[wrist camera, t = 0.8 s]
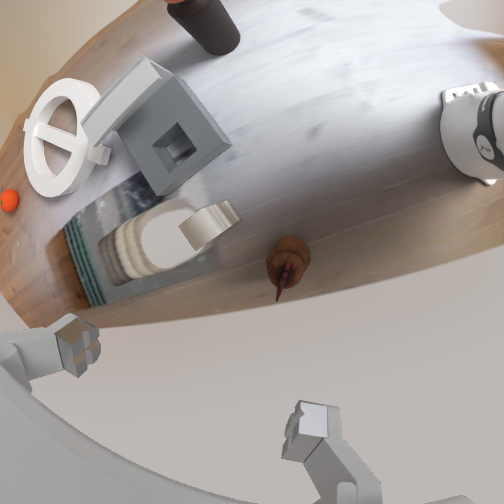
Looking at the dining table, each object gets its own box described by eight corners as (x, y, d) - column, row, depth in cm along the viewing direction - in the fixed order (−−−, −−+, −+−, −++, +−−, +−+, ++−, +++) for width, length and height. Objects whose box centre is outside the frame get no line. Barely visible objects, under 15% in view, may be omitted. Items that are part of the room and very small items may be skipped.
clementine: (12, 211, 59) (-4, 215, 52) (10, 189, 57) (-6, 192, 50) (23, 209, 57) (5, 213, 51) (21, 186, 56) (3, 189, 49)
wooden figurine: (290, 276, 47) (282, 320, 33) (264, 255, 47) (245, 291, 33) (317, 247, 44) (320, 282, 30) (290, 225, 44) (281, 250, 30)
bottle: (197, 43, 38) (140, -8, 19) (224, 21, 36) (180, -40, 17) (220, 62, 38) (166, 8, 20) (248, 38, 36) (211, -26, 17)
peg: (227, 199, 45) (200, 209, 34) (241, 219, 46) (218, 235, 34) (209, 212, 46) (178, 226, 35) (222, 231, 47) (195, 251, 36)
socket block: (183, 80, 40) (141, 54, 27) (232, 145, 42) (200, 134, 29) (130, 129, 45) (79, 122, 32) (171, 193, 47) (124, 203, 34)
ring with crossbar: (31, 123, 50) (18, 123, 45) (94, 59, 42) (80, 55, 38) (50, 212, 55) (37, 215, 51) (119, 159, 48) (104, 159, 43)
